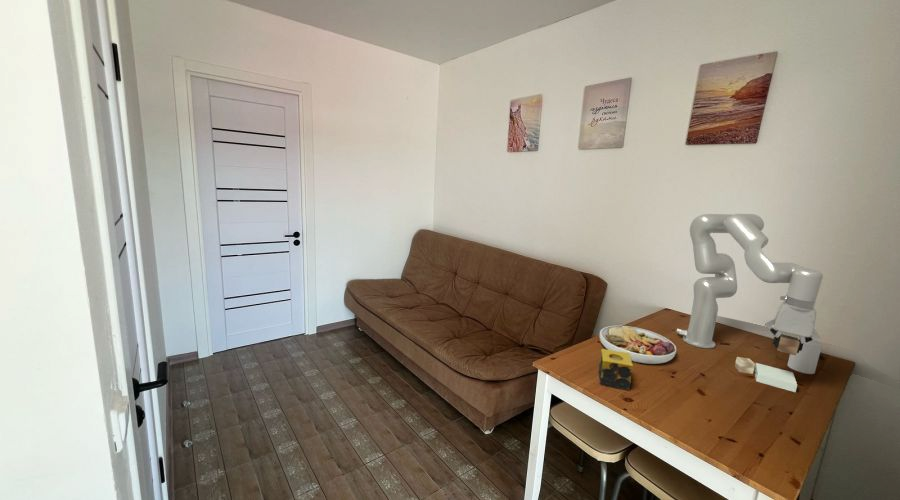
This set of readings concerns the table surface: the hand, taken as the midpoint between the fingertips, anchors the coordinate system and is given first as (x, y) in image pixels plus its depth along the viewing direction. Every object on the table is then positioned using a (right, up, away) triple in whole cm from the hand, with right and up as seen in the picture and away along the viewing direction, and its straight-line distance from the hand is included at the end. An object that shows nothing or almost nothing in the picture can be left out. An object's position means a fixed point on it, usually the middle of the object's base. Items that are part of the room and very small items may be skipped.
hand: (786, 348), depth 132 cm
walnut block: (0, -1, 0) cm, 1 cm away
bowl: (-42, -8, +27) cm, 50 cm away
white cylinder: (+21, -13, +16) cm, 29 cm away
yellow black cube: (-63, -13, +1) cm, 64 cm away
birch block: (-5, -12, +13) cm, 18 cm away
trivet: (+1, -14, +6) cm, 15 cm away
